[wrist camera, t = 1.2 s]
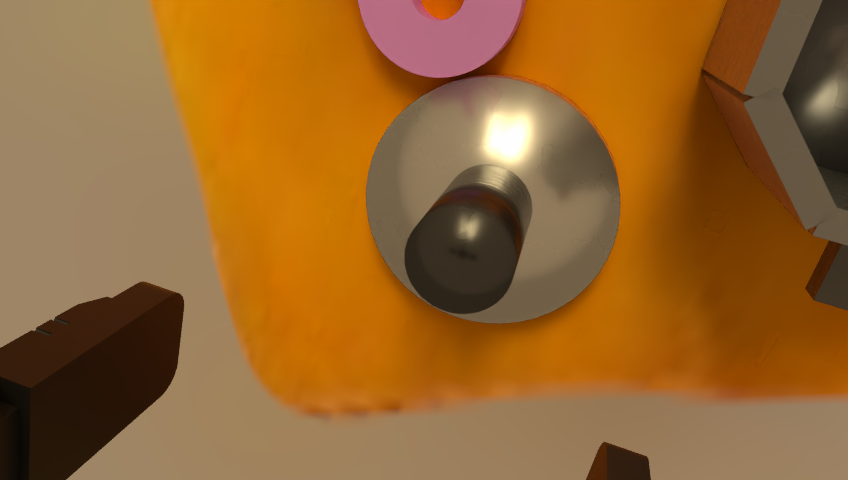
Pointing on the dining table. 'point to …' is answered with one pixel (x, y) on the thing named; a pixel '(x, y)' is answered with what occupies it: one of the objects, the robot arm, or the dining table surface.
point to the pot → (791, 115)
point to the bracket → (441, 34)
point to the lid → (493, 199)
